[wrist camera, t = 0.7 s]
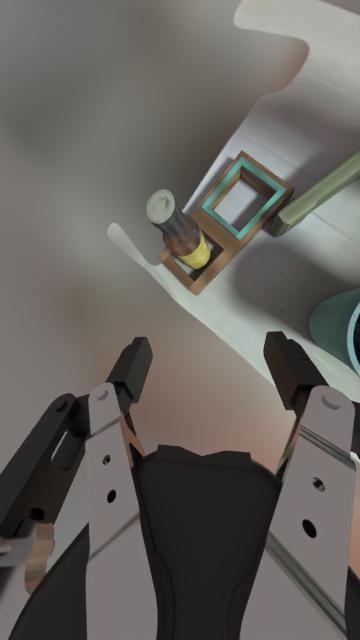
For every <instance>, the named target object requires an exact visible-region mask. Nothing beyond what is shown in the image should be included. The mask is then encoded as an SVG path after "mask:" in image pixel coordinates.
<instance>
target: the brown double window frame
mask: <svg viewBox="0 0 360 640" xmlns="http://www.w3.org/2000/svg"><path fill="white" fill-rule="evenodd" d="M240 178H242V179H243V180H244V181H245V182H247V183H248V184H249V185H251V186H252V187H253V188H254V189H256V190H257V191H258V192H260V193H261V194H262V195H263V196H265V197H266V198H267V199H268V200H269V201H268V202H267V203H266V204H265V205H264V206H263V208H262V209H261V210H260V211H259V212H258V213H257V214H256V215H255V216H254V217H253V218H252V219H251V221H250V222H249V223H248V224H247V225H246V226H245V227H244V228H243V229H242V230H241V231H240V232H238V231H237V230H236V229H235V228H234V227H232V226H231V225H230V224H229V223H228V222H227V221H225V220H224V219H223V218H222V217H221V216H220V215H218V214H217V213H216V212H215V211H214V209H215V208H216V207H217V206H218V204H219V203H220V202H221V201H222V200H223V198H224V197H225V196H226V195H227V194H228V192H229V191H230V190H231V189H232V188H233V186H234V185H235V184H236V183H237V181H238V180H239V179H240ZM294 190H295V189H294V188H292V187H291V186H290V185H288V184H287V183H286V182H284V181H283V180H282V179H280V178H279V177H278V176H276V175H275V174H274V173H272V172H271V171H269V170H268V169H267V168H265V167H264V166H263V165H261V164H260V163H259V162H257V161H256V160H255V159H253V158H252V157H250V156H249V155H248V154H246V153H245V152H244V151H242V150H241V152H240V153H239V154H238V156H237V157H236V158H235V159H234V161H233V162H232V163H231V164H230V166H229V167H228V168H227V169H226V171H225V172H224V173H223V175H222V176H221V177H220V178H219V180H218V181H217V182H216V183H215V185H214V186H213V187H212V188H211V190H210V191H209V192H208V194H207V195H206V196H205V197H204V199H203V200H202V201H201V202H200V204H199V205H198V206H197V207H196V209H195V210H194V211H193V213H192V214H191V215H190V216H191V217H192V218H194V219H195V220H196V221H197V223H198V225H199V227H200V229H201V231H202V233H203V234H204V235H205V236H206V237H207V238H208V239H209V240H210V241H211V242H212V243H213V244H215V245H216V246H217V247H218V248H219V249H220V250H221V251H222V253H221V254H220V255H219V256H218V257H217V258H216V259H215V260H214V261H213V263H212V264H211V265H210V266H209V267H208V268H207V269H206V270H205V271H204V272H203V273H202V274H201V276H200V277H199V278H198V279H197V280H196V281H194V280H193V279H192V278H191V277H190V276H189V275H188V274H187V273H186V272H185V271H184V270H183V269H182V268H181V267H180V266H179V265H178V264H177V263H176V262H175V261H174V260H173V259H174V258H175V256H176V255H175V254H174V253H173V252H172V251H171V250H170V249H169V248H168V247H167V246H166V247H165V248H164V249H163V251H162V252H161V253H160V254H159V256H158V258H159V259H160V260H161V261H162V262H163V263H164V264H165V265H166V266H167V267H168V268H169V269H170V270H171V271H172V272H173V273H174V274H175V275H176V276H177V277H178V278H179V279H180V280H181V281H182V282H183V283H184V285H185V286H186V287H187V288H188V289H189V290H190V291H191V292H192V293H193V294H194V295H198V294H199V293H200V292H201V291H202V290H203V289H204V288H205V287H206V286H207V285H208V284H209V283H210V282H211V281H212V280H213V279H214V278H215V277H216V276H217V275H218V273H219V272H220V271H221V270H222V269H223V268H224V267H225V266H226V265H227V264H228V263H229V262H230V261H231V260H232V259H233V258H234V257H235V256H236V255H237V254H238V253H239V252H240V251H241V250H242V248H243V247H244V246H245V245H246V244H247V243H248V242H249V241H250V240H251V239H252V238H253V237H254V236H255V235H256V234H257V233H258V232H259V231H260V230H261V229H262V228H263V227H264V226H265V225H266V224H267V222H268V221H269V220H270V219H271V218H272V217H273V216H274V215H275V214H276V213H277V212H278V211H279V210H280V209H281V208H282V207H283V206H284V205H285V204H286V203H287V202H288V201H289V199H290V197H291V195H292V194H293V192H294Z"/></svg>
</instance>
